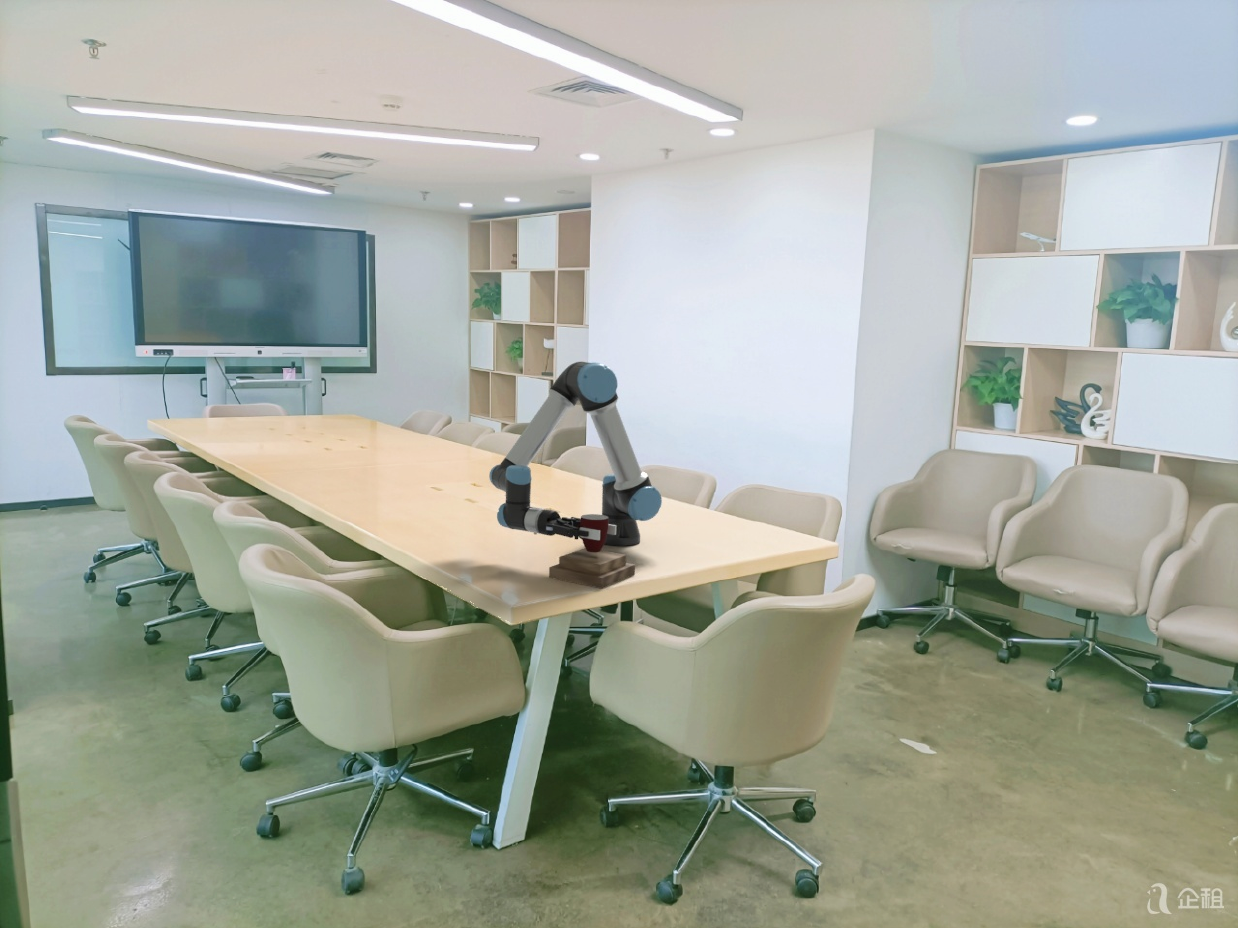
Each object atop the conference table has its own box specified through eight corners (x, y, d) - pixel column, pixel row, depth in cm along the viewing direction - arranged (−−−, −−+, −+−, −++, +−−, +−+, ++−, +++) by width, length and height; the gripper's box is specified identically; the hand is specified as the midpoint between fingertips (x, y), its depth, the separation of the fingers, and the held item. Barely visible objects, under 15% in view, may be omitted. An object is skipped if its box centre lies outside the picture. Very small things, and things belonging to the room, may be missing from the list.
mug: (567, 549, 250) (568, 515, 249) (583, 544, 257) (585, 511, 256) (596, 555, 245) (598, 521, 243) (612, 550, 251) (614, 517, 250)
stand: (583, 564, 264) (584, 545, 263) (634, 574, 254) (635, 554, 254) (549, 577, 248) (549, 557, 248) (601, 588, 239) (602, 567, 238)
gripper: (563, 528, 268) (625, 539, 256) (521, 540, 250) (587, 552, 239) (563, 504, 267) (626, 514, 255) (522, 514, 249) (587, 525, 238)
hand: (607, 532), depth 247 cm, fingers closed on mug, 8 cm apart
